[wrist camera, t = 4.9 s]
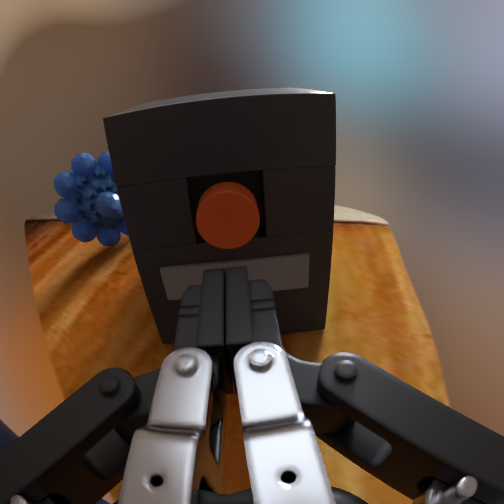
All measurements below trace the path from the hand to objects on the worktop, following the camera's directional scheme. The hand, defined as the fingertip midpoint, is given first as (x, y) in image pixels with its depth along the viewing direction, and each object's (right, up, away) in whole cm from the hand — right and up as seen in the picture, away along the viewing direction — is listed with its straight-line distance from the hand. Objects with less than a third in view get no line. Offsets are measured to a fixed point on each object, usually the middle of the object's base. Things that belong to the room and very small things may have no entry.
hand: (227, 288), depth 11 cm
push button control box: (0, -2, +16) cm, 16 cm away
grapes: (-15, +2, +25) cm, 29 cm away
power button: (0, +2, +6) cm, 6 cm away
